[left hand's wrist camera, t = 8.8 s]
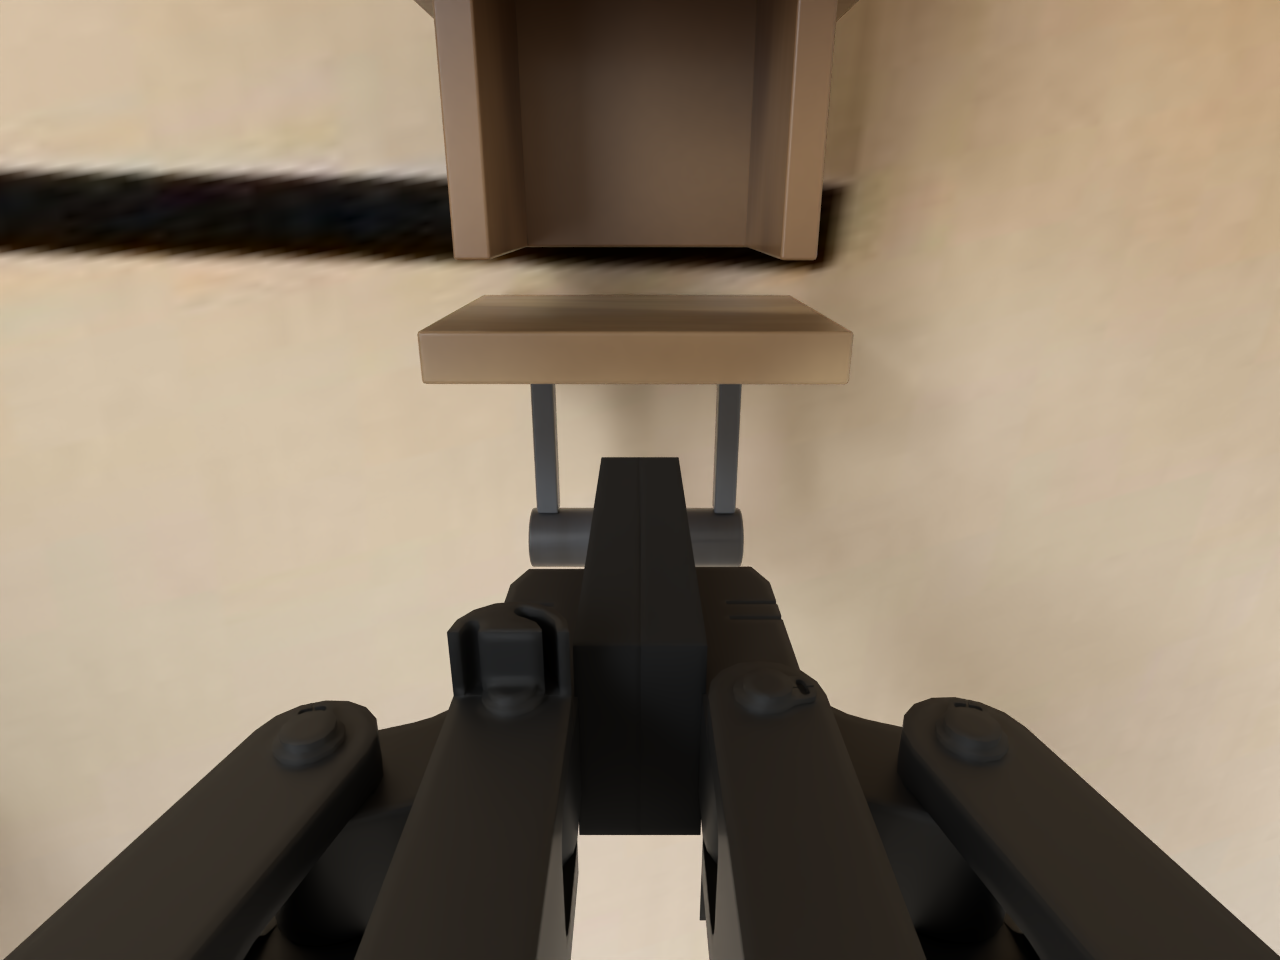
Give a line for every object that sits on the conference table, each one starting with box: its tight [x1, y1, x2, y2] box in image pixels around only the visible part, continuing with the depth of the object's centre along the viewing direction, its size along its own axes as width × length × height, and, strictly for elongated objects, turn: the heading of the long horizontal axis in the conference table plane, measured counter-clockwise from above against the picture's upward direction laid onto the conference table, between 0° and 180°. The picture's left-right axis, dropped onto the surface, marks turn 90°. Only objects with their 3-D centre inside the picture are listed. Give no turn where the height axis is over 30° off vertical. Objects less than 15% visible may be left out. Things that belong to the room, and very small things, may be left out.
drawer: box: [418, 0, 853, 567], centre depth 18 cm, size 21×10×7 cm, turn 0°
